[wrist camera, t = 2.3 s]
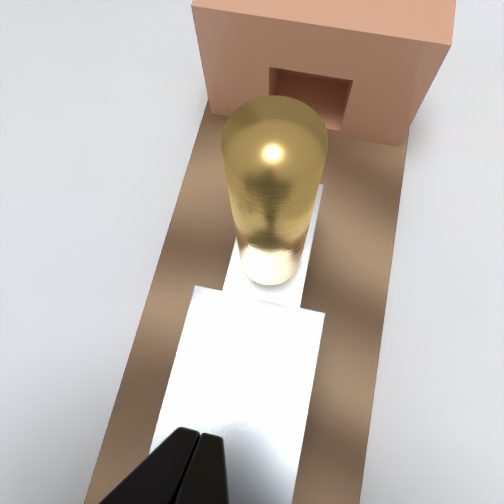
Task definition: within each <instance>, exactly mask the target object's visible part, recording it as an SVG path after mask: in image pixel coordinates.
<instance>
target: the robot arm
mask: <svg viewBox="0 0 504 504" xmlns="http://www.w3.org/2000/svg"><path fill="white" fill-rule="evenodd" d="M98 504H230V498H229V488H228V478H227V468H226V458H225V448H224V440H223V438H222V437H221V436H218V435H214V434H210V433H202V434H201V435H200V432H199V431H197V430H193V429H189V428H185V427H178V428H177V429H175V430H174V431H173V432H172V433H171V434H170V435H169V436H168V437H167V438H166V439H165V440H164V441H163V442H162V443H161V444H160V445H159V446H158V447H156V448H155V449H154V450H153V451H152V452H151V453H150V454H149V455H148V456H147V457H146V458H145V459H144V460H143V461H142V462H141V463H140V464H139V465H138V466H137V467H136V468H134V469H133V470H132V471H131V472H130V473H129V474H128V475H127V476H126V477H125V478H124V479H123V480H122V481H121V482H120V483H119V484H118V485H117V486H116V487H115V488H114V489H112V490H111V491H110V492H109V493H108V494H107V495H106V496H105V497H104V498H103V499H102V500H101V501H100V502H99V503H98Z"/></svg>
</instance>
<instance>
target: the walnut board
mask: <svg viewBox="0 0 504 504" xmlns="http://www.w3.org/2000/svg"><path fill="white" fill-rule="evenodd" d="M228 118H229V117H227V116H221V115H216V114H211V110H210V104H209V99H208V102H207V105H206V108H205V111H204V115H203V118H202V121H201V124H200V128H199V131H198V134H197V137H196V141H195V144H194V147H193V150H192V154H191V157H190V160H189V163H188V167H187V170H186V173H185V176H184V180H183V183H182V186H181V189H180V193H179V196H178V199H177V203H176V206H175V209H174V212H173V216H172V219H171V222H170V225H169V229H168V232H167V235H166V238H165V242H164V245H163V248H162V251H161V255H160V258H159V261H158V264H157V268H156V271H155V274H154V277H153V281H152V284H151V287H150V290H149V294H148V297H147V300H146V303H145V307H144V310H143V313H142V316H141V320H140V323H139V326H138V329H137V333H136V336H135V339H134V342H133V346H132V349H131V352H130V355H129V359H128V362H127V365H126V368H125V372H124V375H123V378H122V381H121V385H120V388H119V391H118V394H117V398H116V401H115V404H114V407H113V411H112V414H111V417H110V420H109V424H108V427H107V430H106V433H105V437H104V440H103V443H102V446H101V450H100V453H99V456H98V459H97V463H96V466H95V469H94V472H93V476H92V479H91V482H90V485H89V489H88V492H87V495H86V498H85V502H84V504H98V503H99V502H100V501H101V500H102V499H103V498H104V497H105V496H106V495H107V494H108V493H109V492H110V491H111V490H112V489H114V488H115V487H116V486H117V485H118V484H119V483H120V482H121V481H122V480H123V479H124V478H125V477H126V476H127V475H128V474H129V473H130V472H131V471H132V470H133V469H134V468H136V467H137V466H138V465H139V464H140V463H141V462H142V461H143V460H144V459H145V458H146V457H147V456H148V455H149V451H150V448H151V444H152V440H153V437H154V433H155V429H156V426H157V422H158V419H159V415H160V411H161V408H162V404H163V400H164V397H165V393H166V389H167V386H168V382H169V379H170V375H171V371H172V368H173V364H174V360H175V357H176V353H177V350H178V346H179V342H180V339H181V335H182V331H183V328H184V324H185V320H186V317H187V313H188V310H189V306H190V302H191V299H192V295H193V291H194V288H195V285H196V286H201V287H206V288H210V289H215V290H220V291H223V287H224V283H225V279H226V276H227V272H228V268H229V264H230V260H231V256H232V252H233V248H234V244H235V240H236V232H235V226H234V221H233V215H232V209H231V203H230V197H229V191H228V186H227V180H226V174H225V168H224V162H223V157H222V151H221V134H222V130H223V127H224V125H225V123H226V121H227V119H228ZM409 127H410V126H409ZM408 135H409V128H408V130H407V132H406V134H405V136H404V138H403V140H402V142H401V144H400V146H399V147H397V146H392V145H386V144H380V143H375V142H369V141H363V140H358V139H352V138H346V137H340V136H335V135H329V134H328V143H329V144H328V151H327V155H326V159H325V163H324V167H323V172H322V176H321V180H320V184H323V190H322V195H321V200H320V205H319V210H318V215H317V220H316V225H315V231H314V236H313V241H312V246H311V251H310V256H309V261H308V266H307V271H306V277H305V282H304V287H303V292H302V297H301V302H300V307H299V308H303V309H308V310H312V311H317V312H321V313H325V317H324V322H323V328H322V334H321V339H320V345H319V351H318V356H317V362H316V368H315V373H314V379H313V385H312V390H311V396H310V402H309V407H308V413H307V419H306V424H305V430H304V436H303V441H302V447H301V453H300V458H299V464H298V470H297V475H296V481H295V487H294V492H293V498H292V504H359V501H360V494H361V486H362V479H363V471H364V464H365V456H366V449H367V441H368V434H369V426H370V419H371V411H372V404H373V397H374V389H375V382H376V374H377V367H378V359H379V352H380V344H381V337H382V329H383V322H384V314H385V307H386V299H387V292H388V284H389V277H390V269H391V262H392V254H393V247H394V239H395V232H396V224H397V217H398V209H399V202H400V195H401V187H402V180H403V172H404V165H405V157H406V150H407V142H408Z"/></svg>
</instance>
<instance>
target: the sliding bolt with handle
mask: <svg viewBox="0 0 504 504" xmlns="http://www.w3.org/2000/svg"><path fill="white" fill-rule="evenodd" d="M328 144H329V143H328V133H327V130H326V127H325V124H324V123H323V121H322V119H321V118H320V116H319V115H318V114H317V113H316V112H315V111H314V110H313V109H312V108H311V107H310V106H308V105H306V104H305V103H303V102H301V101H299V100H297V99H294V98H290V97H286V96H264V97H259V98H256V99H253V100H250V101H248V102H246V103H244V104H243V105H241V106H240V107H239V108H237V109H236V110H235V111H234V112H233V113H232V114H231V115H230V117H229V118H228V119H227V121H226V123H225V125H224V127H223V130H222V134H221V151H222V157H223V162H224V168H225V174H226V180H227V186H228V191H229V197H230V203H231V209H232V215H233V221H234V226H235V232H236V240H235V244H234V248H233V252H232V256H231V260H230V264H229V268H228V272H227V276H226V279H225V283H224V287H223V291H224V292H229V293H233V294H238V295H243V296H247V297H252V298H257V299H261V300H266V301H271V302H275V303H280V304H284V305H289V306H294V307H298V308H299V307H300V302H301V297H302V292H303V287H304V282H305V277H306V271H307V266H308V261H309V256H310V251H311V246H312V241H313V236H314V231H315V225H316V220H317V215H318V210H319V205H320V200H321V195H322V190H323V184H320V180H321V176H322V172H323V167H324V163H325V159H326V155H327V151H328Z"/></svg>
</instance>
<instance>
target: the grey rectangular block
mask: <svg viewBox="0 0 504 504" xmlns="http://www.w3.org/2000/svg"><path fill="white" fill-rule="evenodd" d="M324 317H325V313H321V312H317V311H312V310H308V309H303V308H298V307H294V306H289V305H284V304H280V303H275V302H271V301H266V300H261V299H257V298H252V297H247V296H243V295H238V294H233V293H229V292H224V291H220V290H215V289H210V288H206V287H201V286H196V285H195V288H194V291H193V295H192V299H191V302H190V306H189V310H188V313H187V317H186V320H185V324H184V328H183V331H182V335H181V339H180V342H179V346H178V350H177V353H176V357H175V360H174V364H173V368H172V371H171V375H170V379H169V382H168V386H167V389H166V393H165V397H164V400H163V404H162V408H161V411H160V415H159V419H158V422H157V426H156V429H155V433H154V437H153V440H152V444H151V448H150V451H149V454H150V453H151V452H152V451H153V450H154V449H155V448H156V447H158V446H159V445H160V444H161V443H162V442H163V441H164V440H165V439H166V438H167V437H168V436H169V435H170V434H171V433H172V432H173V431H174V430H175V429H177V428H178V427H185V428H189V429H193V430H197V431H199V432H200V435H201V434H202V433H210V434H214V435H218V436H221V437H222V438H223V440H224V448H225V458H226V468H227V478H228V488H229V498H230V504H292V498H293V492H294V487H295V481H296V475H297V470H298V464H299V458H300V453H301V447H302V441H303V436H304V430H305V424H306V419H307V413H308V407H309V402H310V396H311V390H312V385H313V379H314V373H315V368H316V362H317V356H318V351H319V345H320V339H321V334H322V328H323V322H324Z"/></svg>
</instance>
